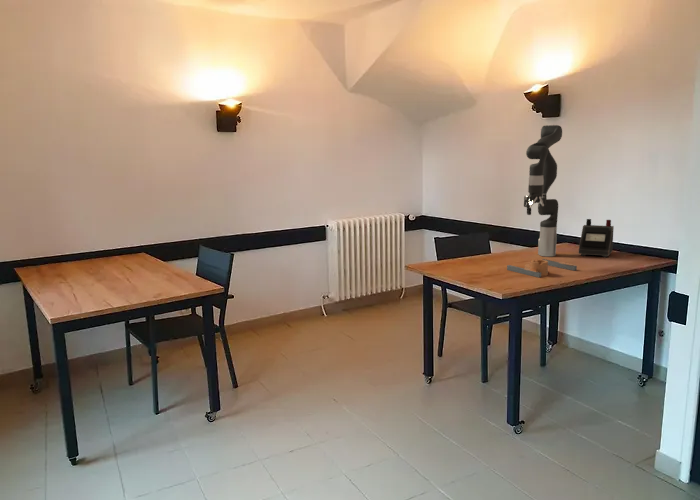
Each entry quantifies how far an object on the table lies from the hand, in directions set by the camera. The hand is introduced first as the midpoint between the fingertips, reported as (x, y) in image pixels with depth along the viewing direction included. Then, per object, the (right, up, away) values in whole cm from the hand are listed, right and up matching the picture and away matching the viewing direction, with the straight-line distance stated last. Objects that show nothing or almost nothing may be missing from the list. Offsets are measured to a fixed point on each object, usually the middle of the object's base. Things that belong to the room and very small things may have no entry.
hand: (534, 214), depth 297 cm
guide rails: (+1, -30, -7) cm, 31 cm away
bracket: (-3, -31, -11) cm, 33 cm away
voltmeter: (+45, -22, +28) cm, 58 cm away
